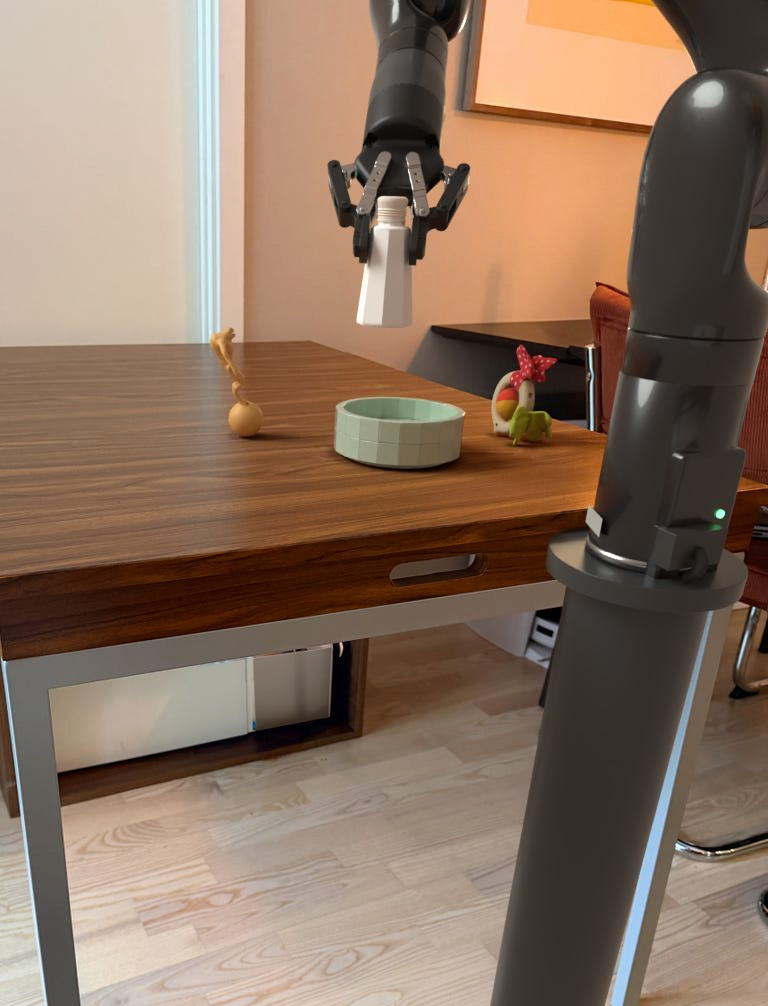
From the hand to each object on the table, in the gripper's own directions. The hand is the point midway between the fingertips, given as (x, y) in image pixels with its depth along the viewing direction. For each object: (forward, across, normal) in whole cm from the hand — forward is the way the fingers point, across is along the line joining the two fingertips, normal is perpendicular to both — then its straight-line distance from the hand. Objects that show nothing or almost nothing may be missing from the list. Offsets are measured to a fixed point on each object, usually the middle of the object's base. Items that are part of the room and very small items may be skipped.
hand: (387, 257), depth 79 cm
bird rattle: (+1, +15, +28) cm, 32 cm away
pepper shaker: (+3, 0, +6) cm, 7 cm away
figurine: (+6, -17, +23) cm, 29 cm away
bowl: (+9, +2, +20) cm, 22 cm away
